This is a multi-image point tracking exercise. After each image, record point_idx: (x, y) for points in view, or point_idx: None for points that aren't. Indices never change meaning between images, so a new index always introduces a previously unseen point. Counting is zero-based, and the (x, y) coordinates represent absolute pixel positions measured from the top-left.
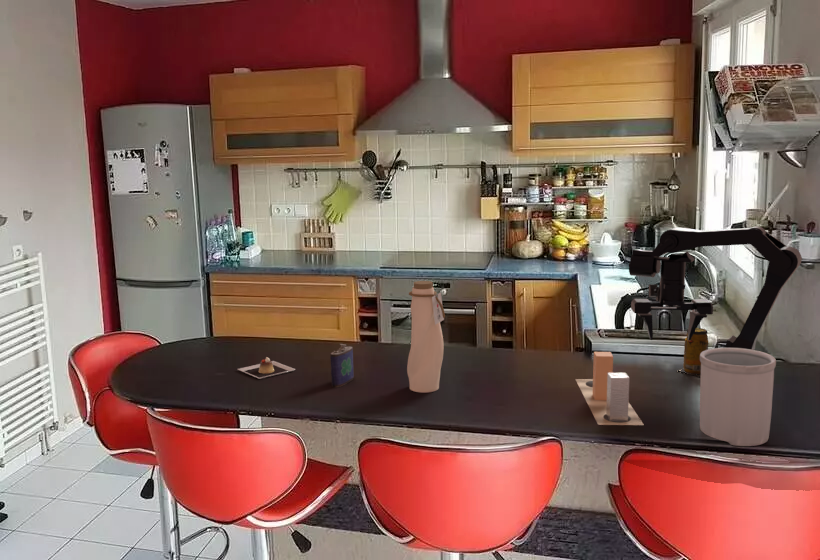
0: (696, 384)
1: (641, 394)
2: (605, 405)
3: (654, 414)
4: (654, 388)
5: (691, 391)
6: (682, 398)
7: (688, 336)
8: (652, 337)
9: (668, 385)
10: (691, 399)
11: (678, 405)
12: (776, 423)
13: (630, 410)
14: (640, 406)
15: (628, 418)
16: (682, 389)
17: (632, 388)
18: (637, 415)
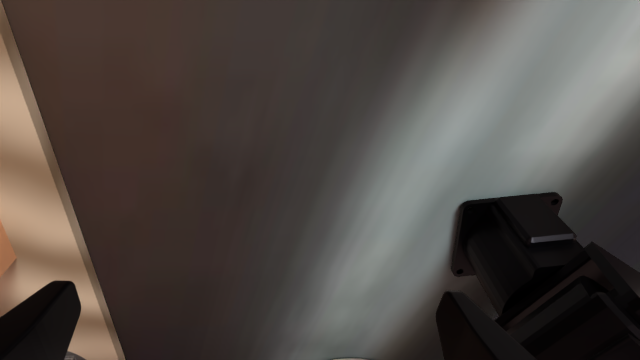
0: (460, 5)
1: (148, 153)
2: (1, 300)
3: (176, 319)
4: (221, 69)
5: (383, 114)
6: (310, 195)
7: (450, 339)
8: (70, 341)
9: (306, 20)
10: (340, 204)
11: (272, 256)
12: None
13: (94, 330)
14: (135, 268)
15: None
16: (354, 86)
17: (106, 68)
18: (117, 356)
